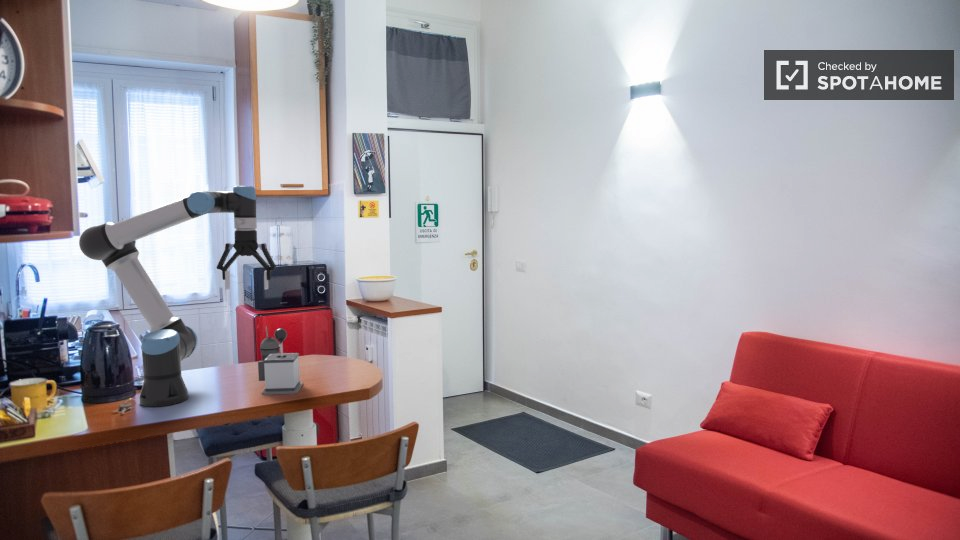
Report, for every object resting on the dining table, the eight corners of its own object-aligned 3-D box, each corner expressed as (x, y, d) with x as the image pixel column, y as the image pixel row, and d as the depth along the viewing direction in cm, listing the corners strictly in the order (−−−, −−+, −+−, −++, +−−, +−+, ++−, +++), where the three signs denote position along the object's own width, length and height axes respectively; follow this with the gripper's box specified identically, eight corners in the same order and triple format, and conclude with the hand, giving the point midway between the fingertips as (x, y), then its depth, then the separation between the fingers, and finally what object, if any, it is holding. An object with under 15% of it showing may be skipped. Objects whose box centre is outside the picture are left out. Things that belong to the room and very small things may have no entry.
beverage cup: (275, 380, 258) (272, 328, 255) (257, 379, 259) (254, 327, 257) (284, 375, 265) (282, 324, 262) (267, 374, 266) (264, 323, 264)
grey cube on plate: (255, 394, 239) (253, 361, 238) (263, 385, 251) (262, 353, 250) (296, 393, 240) (295, 360, 239) (303, 384, 252) (301, 352, 251)
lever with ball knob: (268, 385, 241) (266, 330, 239) (273, 379, 249) (271, 326, 247) (291, 384, 242) (289, 330, 239) (296, 378, 250) (294, 326, 247)
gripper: (206, 229, 238) (208, 290, 240) (278, 230, 239) (280, 290, 242) (213, 228, 245) (215, 287, 248) (283, 229, 247) (284, 287, 249)
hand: (247, 289), depth 245 cm, fingers open, 13 cm apart
